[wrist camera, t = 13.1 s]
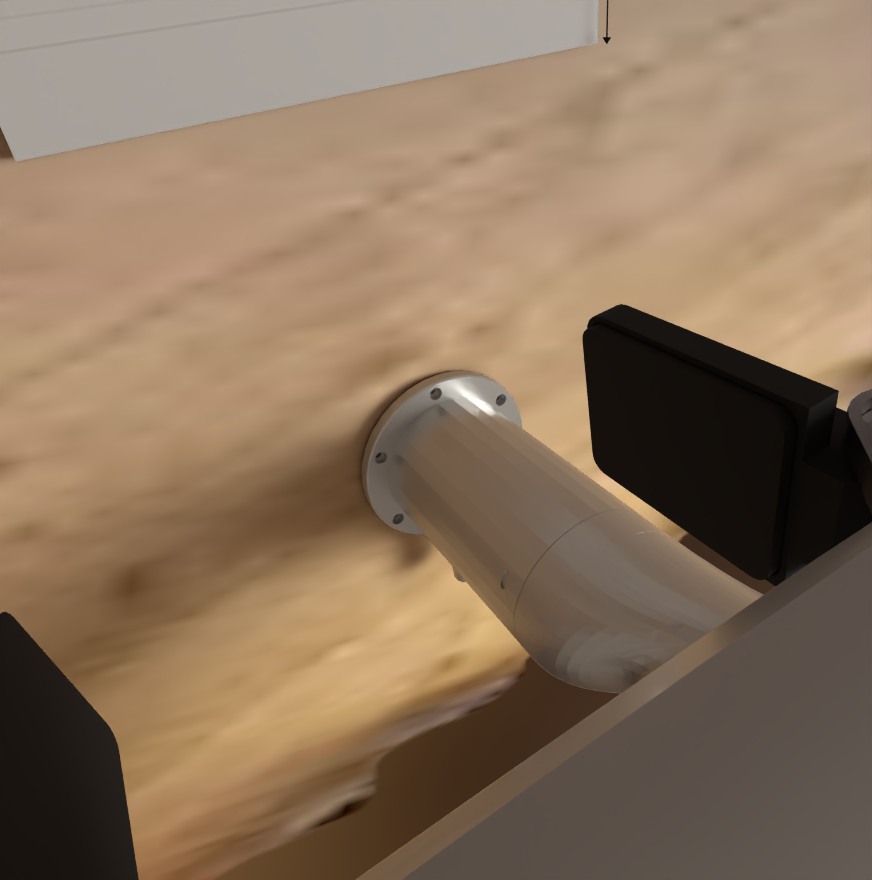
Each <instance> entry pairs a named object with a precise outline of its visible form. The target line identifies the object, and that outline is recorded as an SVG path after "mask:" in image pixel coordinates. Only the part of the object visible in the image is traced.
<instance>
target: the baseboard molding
mask: <svg viewBox="0 0 872 880" xmlns="http://www.w3.org/2000/svg"><path fill="white" fill-rule="evenodd" d="M607 35H608V0H607V26H606V37H603V39H604V40H605V42H606V44H607V43H608V41H609V40H610V38H611V37H607ZM597 43H598V0H0V127H1V130H2V132H3V134H4V136H5V139H6V141H7V143H8V145H9V148H10V150H11V152H12V154H13V157H14V159H15V161H16V162H17V161H21V160H26V159H31V158H36V157H41V156H46V155H51V154H56V153H61V152H66V151H71V150H76V149H80V148H85V147H90V146H95V145H100V144H105V143H110V142H115V141H120V140H125V139H130V138H135V137H140V136H144V135H149V134H154V133H159V132H164V131H169V130H174V129H179V128H184V127H189V126H194V125H199V124H203V123H208V122H213V121H218V120H223V119H228V118H233V117H238V116H243V115H248V114H253V113H258V112H263V111H267V110H272V109H277V108H282V107H287V106H292V105H297V104H302V103H307V102H312V101H317V100H322V99H326V98H331V97H336V96H341V95H346V94H351V93H356V92H361V91H366V90H371V89H376V88H381V87H386V86H390V85H395V84H400V83H405V82H410V81H415V80H420V79H425V78H430V77H435V76H440V75H445V74H449V73H454V72H459V71H464V70H469V69H474V68H479V67H484V66H489V65H494V64H499V63H504V62H509V61H513V60H518V59H523V58H528V57H533V56H538V55H543V54H548V53H553V52H558V51H563V50H568V49H573V48H577V47H582V46H587V45H592V44H597Z"/></svg>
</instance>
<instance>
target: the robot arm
mask: <svg viewBox="0 0 872 880" xmlns="http://www.w3.org/2000/svg"><path fill="white" fill-rule="evenodd" d="M583 350H584V362H585V373H586V384H587V395H588V406H589V418H590V429H591V440H592V451H593V457H594V460H595V463H596V464H597V466H598V467H599V469H600V470H601V471H602V472H603V473H604V474H606V475H607V476H609V477H610V478H611V479H613V480H614V481H616V482H617V483H618V484H620V485H621V486H623V487H624V488H626V489H627V490H628V491H630V492H631V493H633V494H634V495H636V496H637V497H638V498H640V499H641V500H643V501H644V502H645V503H647V504H648V505H650V506H651V507H653V508H654V509H655V510H657V511H658V512H660V513H661V514H663V515H664V516H665V517H667V518H668V519H670V520H671V521H673V522H674V523H675V524H677V525H678V526H680V527H681V528H682V529H684V530H685V531H687V532H688V533H690V534H691V535H692V536H694V537H695V538H697V539H698V540H700V541H701V542H702V543H704V544H705V545H707V546H708V547H709V548H711V549H712V550H714V551H715V552H717V553H718V554H720V555H721V556H722V557H724V558H725V559H727V560H728V561H730V562H731V563H732V564H734V565H735V566H737V567H738V568H739V569H741V570H742V571H744V572H745V573H746V574H748V575H749V576H751V577H753V578H755V579H758V580H764V579H766V580H767V581H769V582H770V583H771V584H773V585H774V586H776V587H775V588H773V589H772V590H770V591H769V592H767V593H766V594H764V595H762V594H761V593H759V592H757V591H755V590H753V589H751V588H749V587H747V586H746V585H744V584H742V583H741V582H739V581H737V580H736V579H734V578H732V577H730V576H729V575H727V574H725V573H724V572H722V571H721V570H719V569H717V568H716V567H714V566H713V565H711V564H710V563H708V562H707V561H705V560H704V559H702V558H700V557H699V556H697V555H696V554H694V553H693V552H692V551H690V550H688V549H687V548H686V547H684V546H683V545H681V544H680V543H679V542H677V541H676V540H674V539H673V538H671V537H670V536H669V535H667V534H666V533H664V532H663V531H662V530H660V529H659V528H658V527H656V526H655V525H653V524H652V523H651V522H649V521H648V520H647V519H645V518H644V517H642V516H641V515H640V514H638V513H637V512H636V511H634V510H633V509H632V508H630V507H629V506H628V505H626V504H625V503H623V502H622V501H621V500H619V499H618V498H617V497H615V496H614V495H613V494H611V493H610V492H608V491H607V490H606V489H604V488H603V487H602V486H600V485H599V484H597V483H596V482H595V481H593V480H592V479H591V478H589V477H588V476H587V475H585V474H584V473H582V472H581V471H580V470H578V469H577V468H576V467H574V466H573V465H572V464H570V463H569V462H567V461H566V460H565V459H563V458H562V457H561V456H559V455H558V454H556V453H555V452H554V451H552V450H551V449H550V448H548V447H547V446H546V445H544V444H543V443H541V442H540V441H539V440H537V439H536V438H535V437H533V436H532V435H531V434H529V433H528V432H526V431H525V430H524V429H522V420H521V416H520V412H519V408H518V406H517V404H516V402H515V400H514V398H513V397H512V396H511V395H510V393H509V392H508V391H507V390H506V389H505V388H504V387H503V386H501V385H500V384H499V383H497V382H496V381H494V380H493V379H491V378H489V377H487V376H485V375H483V374H480V373H475V372H471V371H452V372H447V373H442V374H438V375H435V376H433V377H430V378H428V379H425V380H423V381H421V382H420V383H418V384H416V385H415V386H413V387H412V388H410V389H408V390H407V391H406V392H405V393H403V394H402V395H401V396H400V397H399V398H398V399H396V400H395V401H394V402H393V403H392V405H391V406H390V407H389V408H388V409H387V410H386V411H385V413H384V414H383V415H382V416H381V418H380V420H379V421H378V423H377V424H376V426H375V428H374V429H373V431H372V433H371V436H370V438H369V440H368V443H367V445H366V448H365V452H364V457H363V461H362V484H363V489H364V494H365V496H366V498H367V500H368V502H369V505H370V506H371V507H372V509H373V510H374V511H375V513H376V514H377V515H378V517H379V518H381V519H382V520H383V521H384V522H385V523H386V524H387V525H388V526H390V527H392V528H394V529H395V530H397V531H400V532H403V533H407V534H411V535H426V537H427V538H428V539H429V540H430V541H431V542H432V543H433V545H434V546H435V547H436V548H437V549H438V550H439V551H440V553H441V554H442V555H443V556H444V557H445V558H446V559H447V560H448V562H449V563H450V564H451V565H452V568H453V572H454V576H455V578H456V579H457V580H459V581H461V582H467V583H468V584H469V586H470V587H471V588H472V589H473V590H474V591H475V592H476V594H477V595H478V596H479V597H480V598H481V599H482V600H483V602H484V603H485V604H486V605H487V606H488V607H489V608H490V610H491V611H492V612H493V613H494V614H495V615H496V616H497V618H498V619H499V620H500V621H501V622H502V623H503V624H504V626H505V627H506V628H507V629H508V630H509V631H510V632H511V634H512V635H513V636H514V637H515V638H516V639H517V640H518V642H519V643H520V644H521V646H522V647H523V648H524V649H525V650H526V651H527V652H528V654H529V655H530V656H531V657H532V658H533V659H534V660H535V661H536V662H537V663H538V664H539V665H540V666H541V667H542V668H544V669H545V670H546V671H548V672H549V673H550V674H552V675H553V676H555V677H557V678H559V679H561V680H563V681H565V682H567V683H569V684H572V685H575V686H578V687H582V688H586V689H592V690H597V691H604V692H614V693H621V694H620V695H618V696H617V697H616V698H614V699H613V700H611V701H610V702H608V703H607V704H606V705H604V706H603V707H601V708H600V709H598V710H597V711H595V712H594V713H593V714H591V715H590V716H588V717H587V718H585V719H584V720H583V721H581V722H580V723H578V724H577V725H576V726H574V727H573V728H571V729H570V730H568V731H567V732H565V733H564V734H562V735H561V736H560V737H558V738H557V739H555V740H554V741H552V742H551V743H550V744H548V745H547V746H545V747H544V748H542V749H541V750H540V751H538V752H537V753H535V754H534V755H532V756H531V757H530V758H528V759H527V760H525V761H524V762H522V763H521V764H520V765H518V766H517V767H515V768H514V769H512V770H511V771H509V772H508V773H507V774H505V775H504V776H502V777H501V778H500V779H498V780H497V781H495V782H494V783H492V784H491V785H490V786H488V787H487V788H485V789H484V790H483V791H481V792H480V793H478V794H477V795H475V796H474V797H472V798H471V799H470V800H468V801H467V802H466V803H464V804H462V805H461V806H460V807H458V808H457V809H455V810H454V811H453V812H451V813H450V814H448V815H447V816H445V817H444V818H443V819H441V820H440V821H438V822H437V823H435V824H434V825H433V826H431V827H430V828H428V829H427V830H426V831H424V832H423V833H421V834H420V835H419V836H417V837H416V838H414V839H413V840H411V841H410V842H409V843H407V844H406V845H404V846H403V847H401V848H400V849H399V850H397V851H396V852H394V853H393V854H392V855H390V856H389V857H387V858H386V859H384V860H383V861H382V862H380V863H379V864H377V865H376V866H374V867H373V868H372V869H370V870H369V871H367V872H366V873H364V874H363V875H362V876H360V877H359V878H357V879H356V880H872V389H871V390H868V391H865V392H862V393H860V394H859V395H858V396H856V397H855V398H854V399H852V400H851V402H850V405H849V407H848V409H847V412H846V411H843V410H841V409H839V408H836V404H837V398H838V392H839V391H838V390H835V389H833V388H831V387H828V386H826V385H823V384H821V383H818V382H816V381H813V380H811V379H808V378H806V377H803V376H801V375H798V374H796V373H793V372H791V371H788V370H786V369H783V368H781V367H778V366H776V365H773V364H771V363H769V362H766V361H764V360H761V359H759V358H756V357H754V356H751V355H749V354H746V353H744V352H741V351H739V350H736V349H734V348H731V347H729V346H726V345H724V344H721V343H719V342H716V341H714V340H711V339H709V338H707V337H704V336H702V335H699V334H697V333H694V332H692V331H689V330H687V329H684V328H682V327H679V326H677V325H674V324H672V323H669V322H667V321H664V320H662V319H659V318H657V317H654V316H652V315H649V314H647V313H645V312H642V311H640V310H637V309H635V308H632V307H630V306H627V305H623V304H620V305H617V306H615V307H613V308H610V309H608V310H606V311H604V312H602V313H600V314H598V315H596V316H594V317H592V318H591V319H590V320H589V322H588V325H587V329H586V330H585V331H584V333H583ZM0 880H138V873H137V866H136V860H135V853H134V847H133V840H132V834H131V827H130V820H129V814H128V807H127V801H126V794H125V788H124V781H123V774H122V768H121V761H120V755H119V749H118V745H117V742H116V739H115V737H114V734H113V732H112V731H111V729H110V727H109V726H108V724H107V723H106V722H105V721H104V720H103V719H102V717H101V716H100V715H99V714H98V713H97V712H96V711H95V709H94V708H93V707H92V706H91V705H90V704H89V703H88V701H87V700H86V699H85V698H84V697H83V696H82V695H81V693H80V692H79V691H78V690H77V689H76V688H75V687H74V685H73V684H72V683H71V682H70V681H69V680H68V679H67V677H66V676H65V675H64V674H63V673H62V672H61V671H60V670H59V668H58V667H57V666H56V665H55V664H54V663H53V662H52V660H51V659H50V658H49V657H48V656H47V655H46V654H45V652H44V651H43V650H42V649H41V648H40V647H39V646H38V644H37V643H36V642H35V641H34V640H33V639H32V638H31V636H30V635H29V634H28V633H27V632H26V631H25V630H24V628H23V627H22V626H21V625H20V624H19V623H18V622H17V621H16V619H15V618H14V617H13V616H12V615H11V614H9V613H7V612H3V613H1V614H0Z"/></svg>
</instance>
